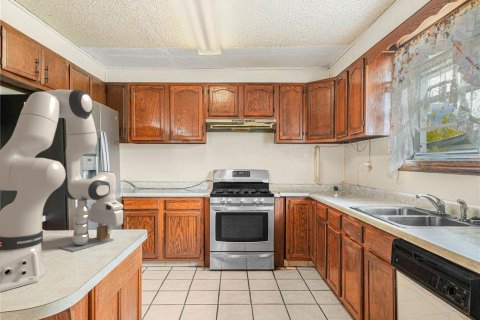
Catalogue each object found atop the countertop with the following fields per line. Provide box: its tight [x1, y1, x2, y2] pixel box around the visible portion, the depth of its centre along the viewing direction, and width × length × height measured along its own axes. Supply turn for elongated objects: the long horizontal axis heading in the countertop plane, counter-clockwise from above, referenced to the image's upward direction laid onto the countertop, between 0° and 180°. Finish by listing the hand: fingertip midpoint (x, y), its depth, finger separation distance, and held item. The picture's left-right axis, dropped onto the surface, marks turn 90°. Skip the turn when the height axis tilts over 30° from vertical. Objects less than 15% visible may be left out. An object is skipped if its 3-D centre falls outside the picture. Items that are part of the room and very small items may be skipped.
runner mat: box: [58, 224, 115, 253], centre depth 128 cm, size 20×10×6 cm, turn 154°
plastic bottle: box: [71, 199, 90, 245], centre depth 124 cm, size 6×7×20 cm
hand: (105, 232), depth 136 cm, fingers open, 3 cm apart
